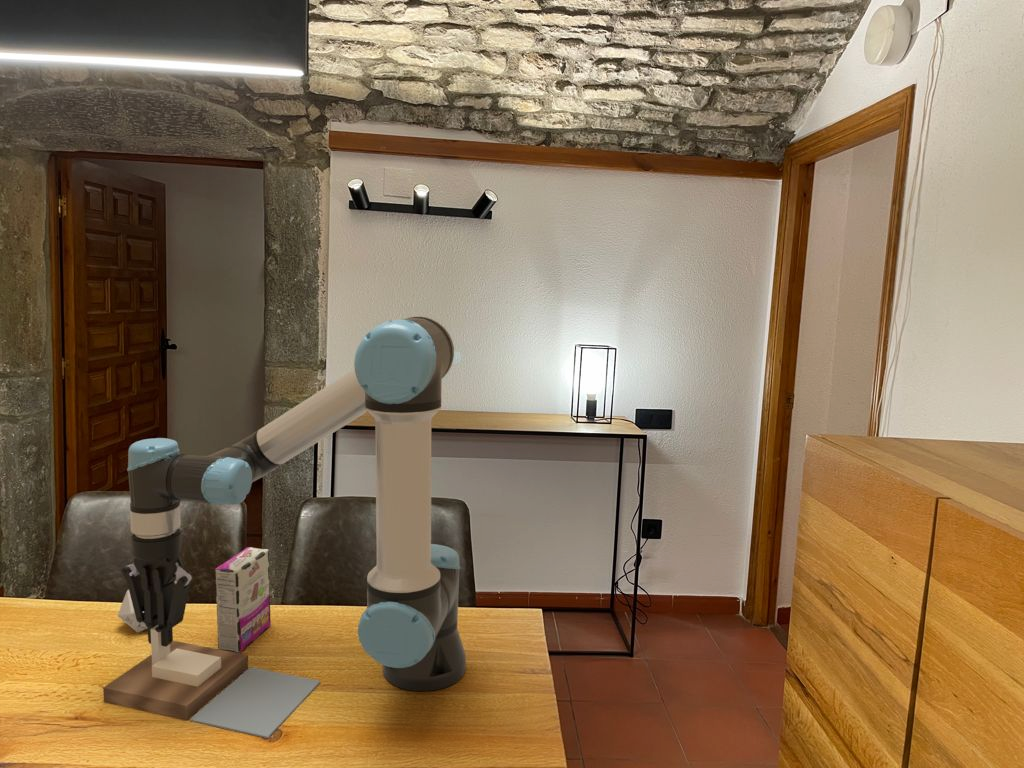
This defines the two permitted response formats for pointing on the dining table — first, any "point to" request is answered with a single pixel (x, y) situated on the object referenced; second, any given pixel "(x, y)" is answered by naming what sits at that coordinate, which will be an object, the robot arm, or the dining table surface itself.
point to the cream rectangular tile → (186, 667)
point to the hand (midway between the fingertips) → (161, 661)
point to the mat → (256, 702)
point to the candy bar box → (242, 599)
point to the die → (130, 614)
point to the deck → (173, 685)
